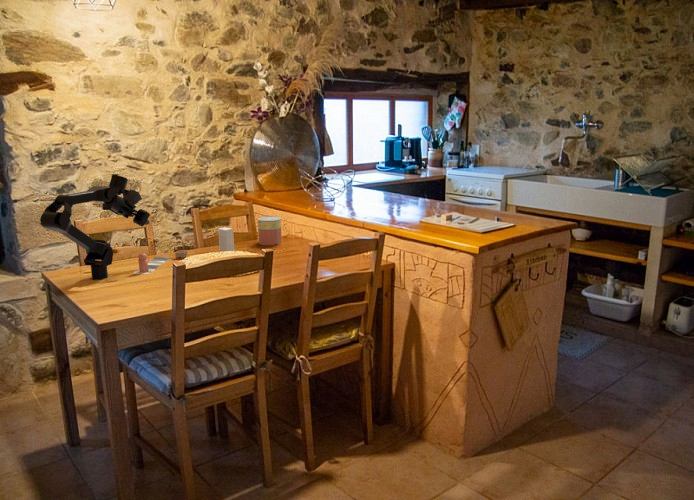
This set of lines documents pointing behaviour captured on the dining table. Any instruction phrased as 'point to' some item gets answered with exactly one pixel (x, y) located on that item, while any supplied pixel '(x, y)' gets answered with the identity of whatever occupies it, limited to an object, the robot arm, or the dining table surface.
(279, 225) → the canned food
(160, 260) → the track board
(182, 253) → the die
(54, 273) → the dining table surface
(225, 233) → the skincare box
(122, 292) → the dining table surface
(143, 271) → the pink upright cylinder
